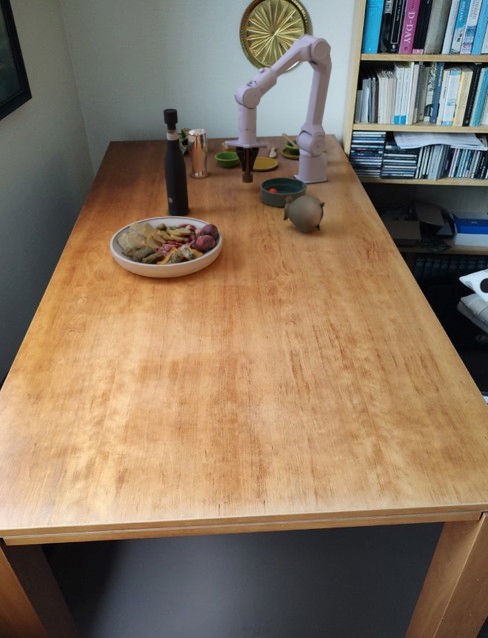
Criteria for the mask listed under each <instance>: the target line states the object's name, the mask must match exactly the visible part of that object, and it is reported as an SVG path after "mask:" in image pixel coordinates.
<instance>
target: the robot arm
mask: <svg viewBox="0 0 488 638" xmlns="http://www.w3.org/2000/svg"><path fill="white" fill-rule="evenodd" d="M331 50H332V46H331V44H329V42H328V40H326V39H325V38H323V37H317V36H314V35H310V34H308V33H304V34H302V35H300V36H299V37H298V38H297V39H296V40H294V41H293V43H292V45H291V47H289V48H288V49H287V50H286V52H285V53H284V54H283V55H282V56H281V57H280V58H279V59H277V61H276V62H274V64H273V65H272V66H271V67H267V66H265V67H263V68H262V67H261V68H259V70H258V73H257V74H255V75H254V76H253V77H252V78H251V79H248V80H247V81H246V83H245V84H241V85H239V86H238V88H237V89H236V92H235V94H234V100H235V102H236V103H237V108H238V110H237V112H238V113H237V114H238V115H237V116H238V119H237V120H238V124H237V125H238V139H233V140H225V141H224V142H225V149H228V148H236V154H237V156H238V158H239V163H240V166H241V171H242V173H244V148H252V149H251V173H254V170H253V166H254V162H255V160H256V157H258V155H259V152H260V149H261V150H263V149H264V150H271V141H268V140H260V139H257V113H258V111H257V109H258V108H257V107H258V106H259V104H260V102H261V99H262V97H264V95H265V94H267V93H268V92H269V91H270V90H271V89H272V88H274V86H276V84H277V81H278V78H279V77H281V75H282V74H284V73H286V72H287V71H288V70H289V69H291V68H292V67H293V66H294V65H295V64H297V63H298V62H299V63H300V62H307V63H308V64H309V66H310V67H311V68H312V70H313V73H312V80H311V86H310V93H309V98H308V105H307V111H306V117H305V122H304V123H303V124H302V125H301V126H300V130H299V133H298V134H297V136H296V139H295V140H296V142H297V146H298V147H299V151H300V158H299V159H298V160H299V161H298V174H294V175H293V176H294V177H293V178H295V179H299V180H301V181H303V182H304V183H305V184H306V185H307V184H312V183H321V182H326V181H328V180H327V174H328V173H327V172H328V156H327V153H324V152H323V151H324V149H325V148H326V147H327V146H326V144H327V143H326V131H325V130H324V126H323V120H324V113H325V108H326V103H327V97H328V91H329V85H330V80H331V73H332V69H333V62H332V57H331Z"/></svg>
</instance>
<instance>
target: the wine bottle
mask: <svg viewBox="0 0 488 638" xmlns="http://www.w3.org/2000/svg"><path fill="white" fill-rule="evenodd" d="M163 123H164V124H165V125H166V128H167V129H166V130H167V131H166V139H165V140H166V152H165V157H164V165H163V166H164V168H163V169H164V176H165V177H164V178H165V187H166V188H165V189H166V199H167V206H168V214H169V215H170V216H179V217H185V216H187V215H188V214H189V213H190V207H189V206H190V204H189V191H188V178H187V165H186V161H185V158H184V154H183V155H182V149H181V147H180V144H179V138H178V131H177V124H178V123H179V118H178V109H176V108H166V109H163Z"/></svg>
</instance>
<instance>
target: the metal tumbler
mask: <svg viewBox="0 0 488 638" xmlns="http://www.w3.org/2000/svg"><path fill="white" fill-rule="evenodd" d="M187 150H188V154H189V159H190V164H191V172H190V176H191V177H192V178H195V179H203V178H206V177H208V176H209V172H208V166H207V161H208V160H207V159H208V151H209V143H208V133H207V130H206V129H203V128H194V129H192V130H189V131H188V148H187Z"/></svg>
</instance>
